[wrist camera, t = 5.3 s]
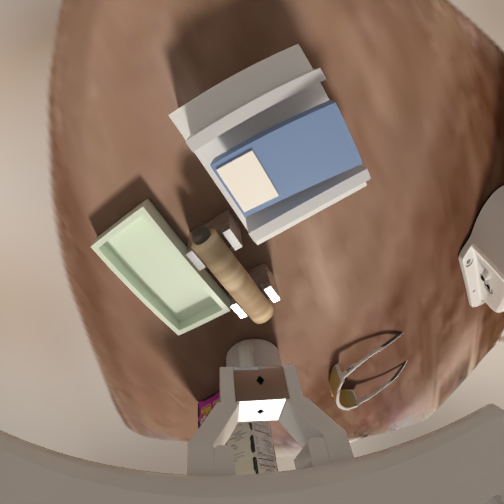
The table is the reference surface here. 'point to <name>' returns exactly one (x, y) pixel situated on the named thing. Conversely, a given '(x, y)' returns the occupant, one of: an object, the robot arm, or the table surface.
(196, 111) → the grey card holder
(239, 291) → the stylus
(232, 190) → the blue box
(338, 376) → the sunglasses
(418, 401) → the table surface
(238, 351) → the cup
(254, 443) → the candy bar box
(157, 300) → the tray
